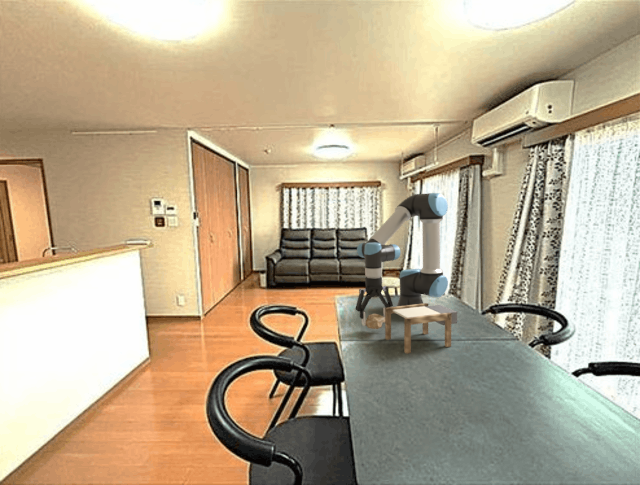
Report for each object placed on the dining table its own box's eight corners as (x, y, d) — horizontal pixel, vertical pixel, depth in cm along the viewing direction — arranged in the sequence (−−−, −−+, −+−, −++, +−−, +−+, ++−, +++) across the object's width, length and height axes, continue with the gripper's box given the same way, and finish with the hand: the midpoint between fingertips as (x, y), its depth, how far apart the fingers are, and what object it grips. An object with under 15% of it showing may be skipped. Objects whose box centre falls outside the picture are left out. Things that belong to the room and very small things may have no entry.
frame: (426, 332, 164) (426, 303, 163) (451, 346, 147) (451, 313, 146) (385, 338, 158) (385, 307, 156) (406, 353, 141) (406, 319, 140)
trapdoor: (438, 314, 163) (438, 304, 162) (458, 324, 150) (458, 312, 149) (392, 320, 156) (392, 309, 155) (409, 330, 143) (409, 318, 142)
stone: (388, 323, 166) (387, 313, 165) (378, 330, 157) (378, 320, 157) (371, 320, 171) (371, 311, 170) (361, 327, 162) (361, 317, 162)
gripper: (392, 272, 170) (393, 317, 172) (347, 277, 163) (348, 324, 165) (400, 275, 162) (401, 322, 165) (353, 280, 156) (355, 329, 158)
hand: (374, 323), depth 165 cm, fingers closed on stone, 11 cm apart
